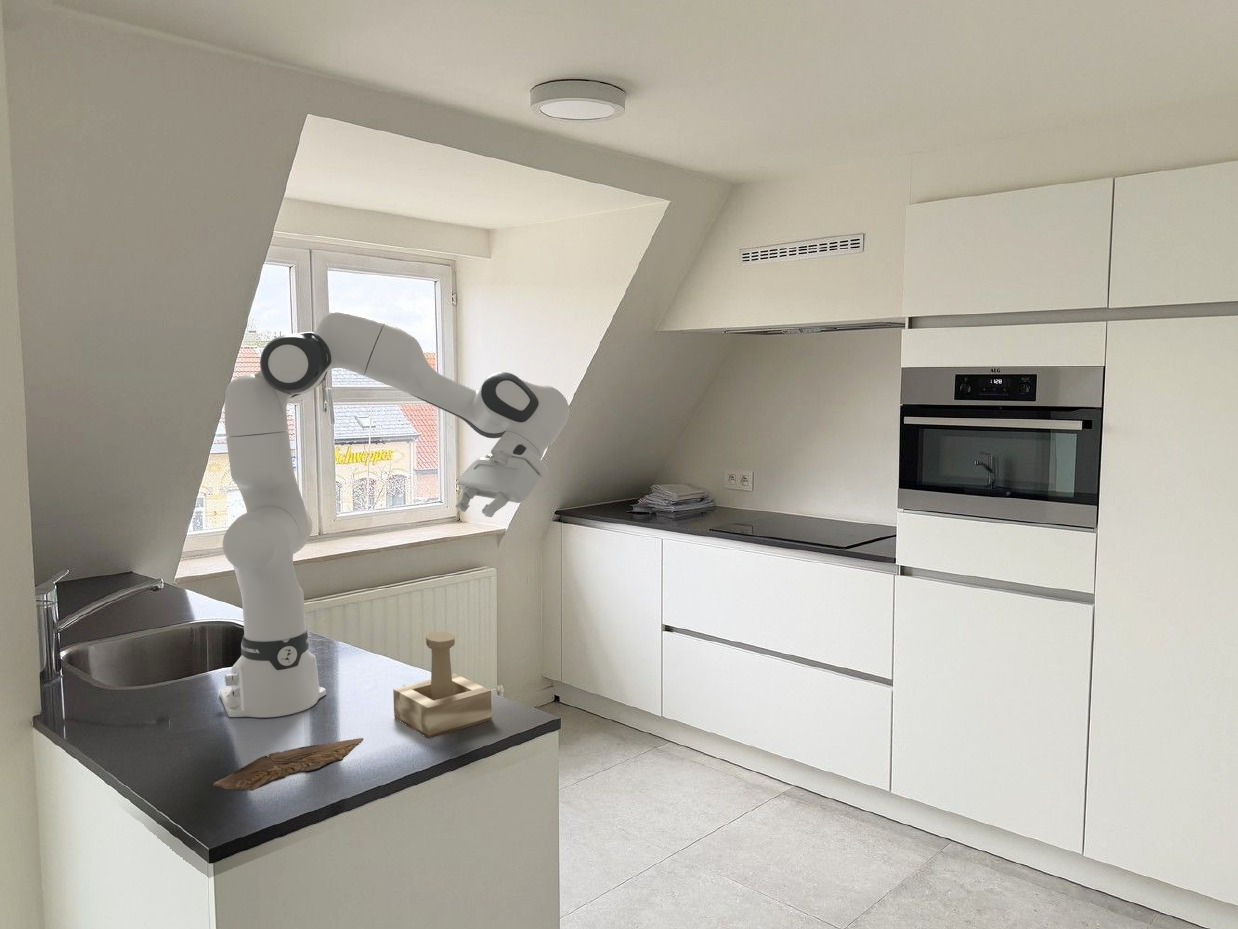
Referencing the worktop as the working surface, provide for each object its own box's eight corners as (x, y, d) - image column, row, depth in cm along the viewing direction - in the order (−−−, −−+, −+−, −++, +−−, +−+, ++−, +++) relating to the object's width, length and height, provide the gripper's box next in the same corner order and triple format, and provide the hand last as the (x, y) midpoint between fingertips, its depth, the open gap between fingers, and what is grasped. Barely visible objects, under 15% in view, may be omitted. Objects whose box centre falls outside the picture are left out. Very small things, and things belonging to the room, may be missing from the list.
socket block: (394, 718, 172) (393, 689, 171) (455, 701, 180) (454, 673, 180) (428, 738, 162) (427, 707, 161) (491, 720, 170) (491, 690, 170)
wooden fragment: (227, 800, 140) (226, 793, 140) (202, 777, 148) (202, 771, 148) (381, 752, 158) (381, 746, 157) (351, 734, 166) (351, 728, 166)
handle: (437, 724, 167) (434, 643, 166) (423, 713, 173) (421, 634, 171) (461, 718, 170) (459, 638, 168) (447, 707, 175) (445, 630, 174)
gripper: (475, 444, 187) (434, 496, 182) (534, 449, 172) (491, 507, 166) (494, 464, 191) (454, 516, 185) (554, 471, 175) (512, 528, 170)
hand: (472, 512), depth 176 cm, fingers open, 8 cm apart
